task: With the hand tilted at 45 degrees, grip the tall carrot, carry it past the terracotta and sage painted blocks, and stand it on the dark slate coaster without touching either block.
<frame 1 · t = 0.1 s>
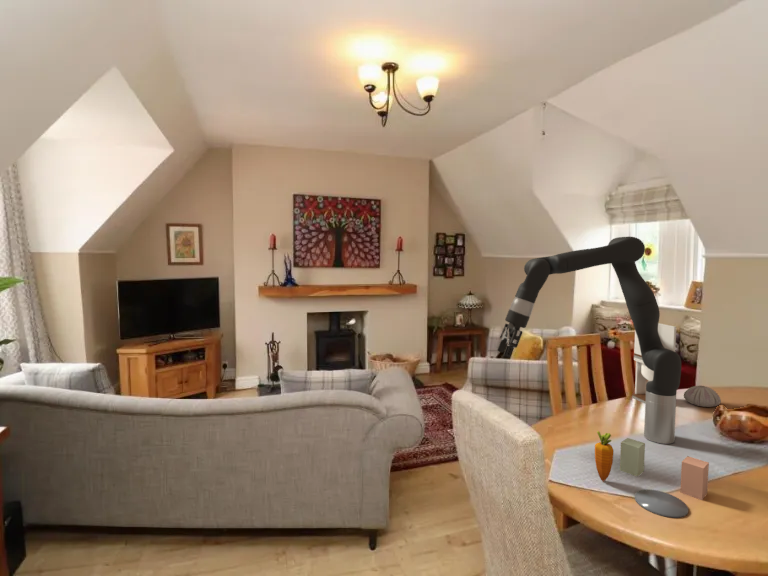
hand: (503, 354, 152), 31 cm above the table, tool tilted 20°, fingers open, 8 cm apart
slate coaster: (660, 503, 114), on the table
sage block: (631, 470, 131), on the table
carrot: (602, 481, 125), on the table
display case: (652, 401, 192), on the table
sea urchin shell: (701, 404, 189), on the table
terracotta block: (693, 493, 119), on the table
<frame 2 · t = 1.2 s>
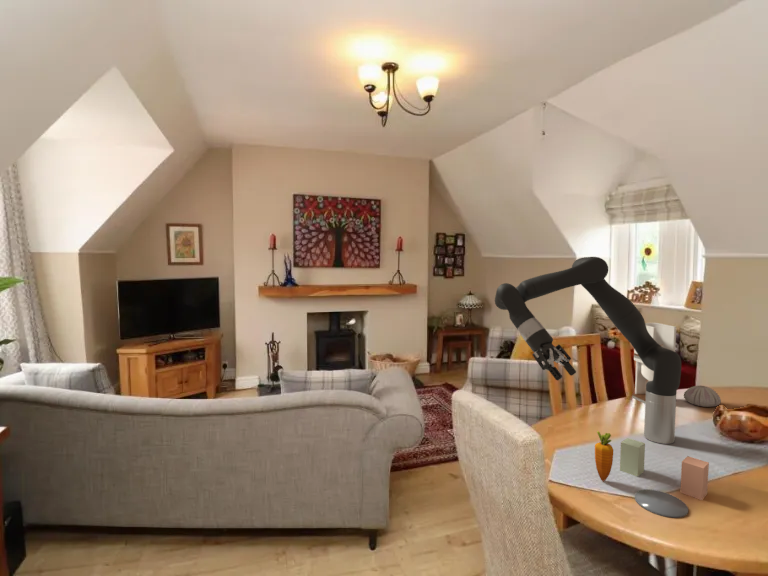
hand: (567, 376, 132), 29 cm above the table, tool tilted 45°, fingers open, 8 cm apart
nothing on the table moved.
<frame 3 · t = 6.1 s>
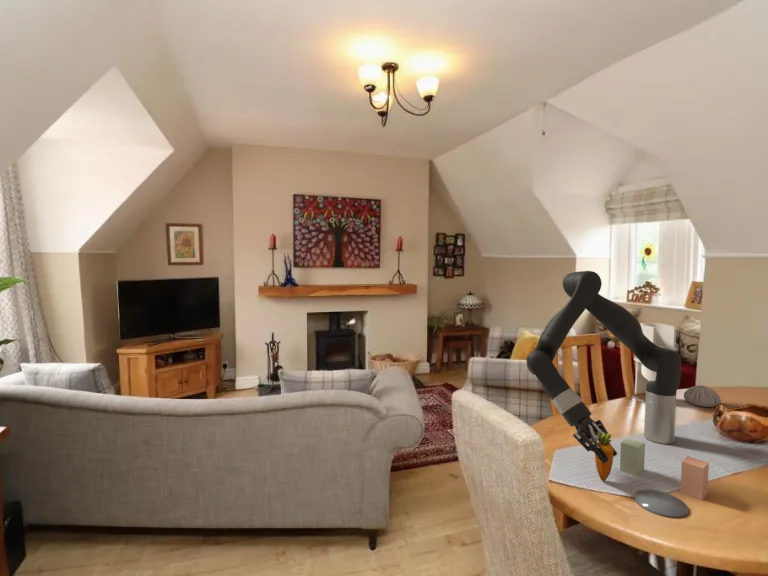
hand: (610, 458, 123), 8 cm above the table, tool tilted 45°, fingers closed on carrot, 5 cm apart
carrot: (603, 481, 125), on the table, touching gripper
everything else where it was.
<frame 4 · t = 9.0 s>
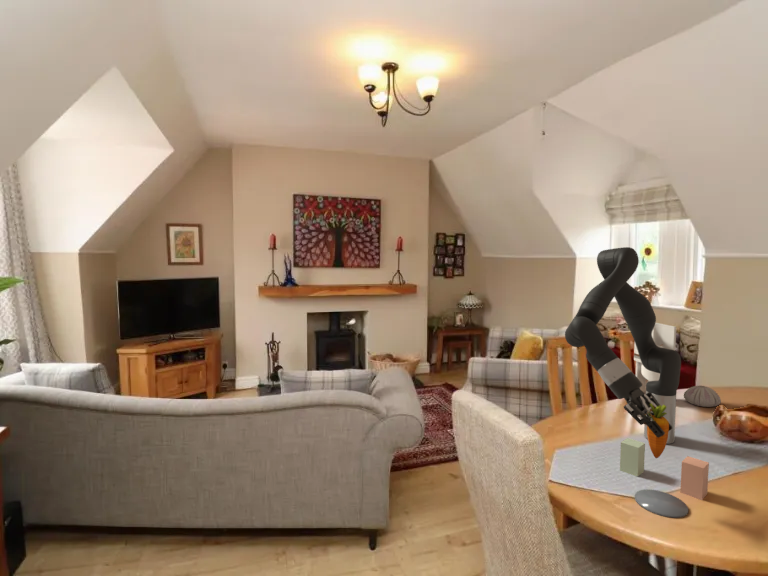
hand: (665, 432, 112), 20 cm above the table, tool tilted 45°, fingers closed on carrot, 5 cm apart
carrot: (656, 458, 114), point 12 cm above the table, touching gripper
everything else where it was.
when the fingers open (10 cm above the table, at t = 12.1 s): carrot drops 1 cm, resting on slate coaster.
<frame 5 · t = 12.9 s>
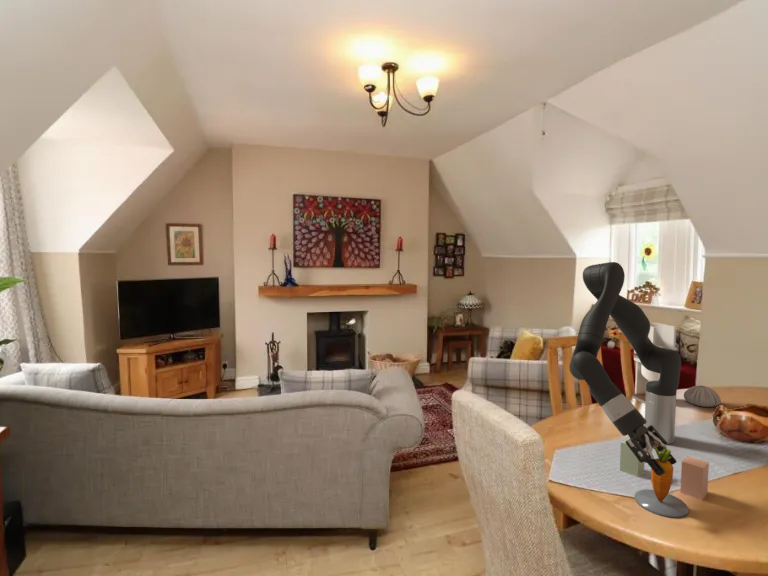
hand: (668, 468, 112), 10 cm above the table, tool tilted 45°, fingers open, 8 cm apart
carrot: (659, 502, 114), resting on slate coaster
everything else where it was.
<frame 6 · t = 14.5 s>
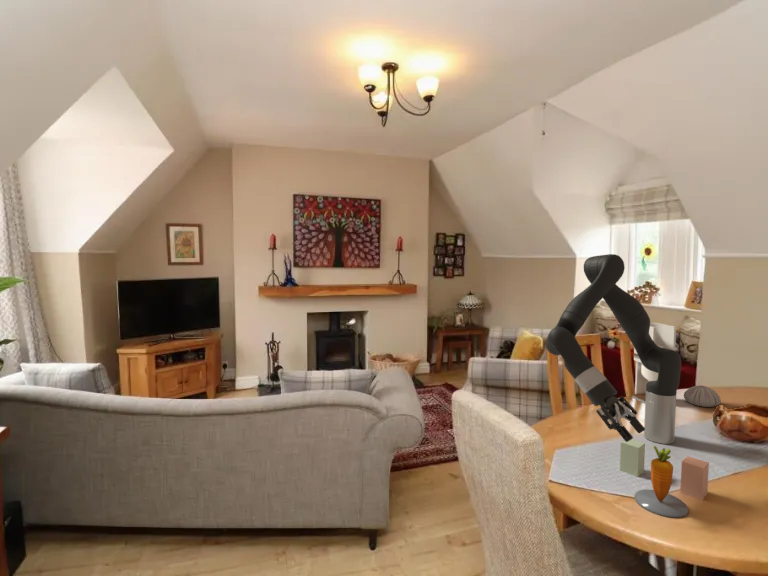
hand: (636, 435, 118), 17 cm above the table, tool tilted 45°, fingers open, 8 cm apart
nothing on the table moved.
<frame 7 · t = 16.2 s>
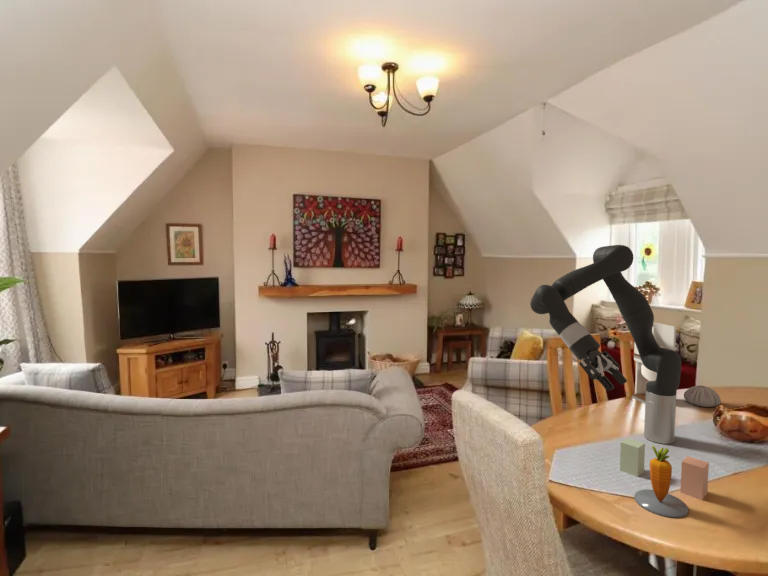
hand: (618, 386, 120), 29 cm above the table, tool tilted 45°, fingers open, 8 cm apart
nothing on the table moved.
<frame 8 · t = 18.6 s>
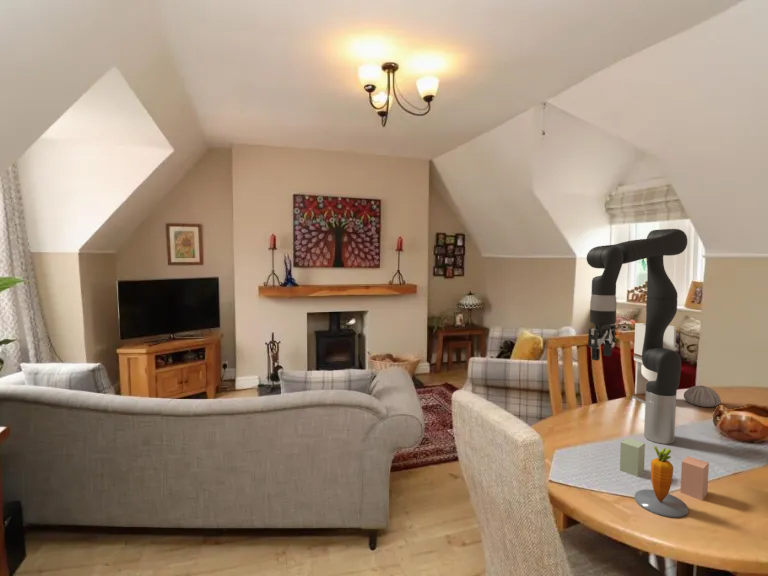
hand: (601, 357, 138), 33 cm above the table, tool pointing down, fingers open, 8 cm apart
nothing on the table moved.
at the end: carrot inside the target area on the slate coaster (0.2 cm from its centre), point 0.4 cm above the slate coaster's base; carrot tilted 1°; terracotta block moved 0.1 cm from its start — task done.
